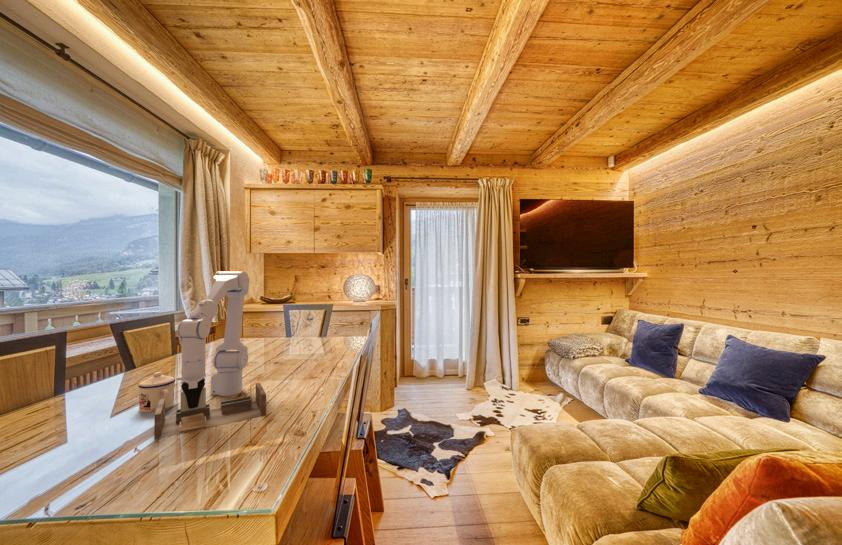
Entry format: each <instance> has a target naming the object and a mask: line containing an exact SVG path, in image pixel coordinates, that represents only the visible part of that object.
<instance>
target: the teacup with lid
mask: <svg viewBox="0 0 842 545" xmlns="http://www.w3.org/2000/svg"><path fill="white" fill-rule="evenodd" d="M175 381H176V379H175V377H174V376H167V375H165V374H162V372H161V371H156V372H154V373H153V374H152V376H150V377H148V378H146V379H144V380H142V381H140V382H139V384H138V388H139V389H138V390H139V391H138V394H139V395H138V397H139V400H138V401H139V402H138V406H139V407H138V408H139V409H138V410H139V412H141V413H150V412H151V413H152V412H156V409H157V406H158V403H159V400H160V399H163V398H165V410H166V409H168V408H171V407H172V406H174V405H175Z"/></svg>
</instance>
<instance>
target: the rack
mask: <svg viewBox="0 0 842 545" xmlns="http://www.w3.org/2000/svg"><path fill="white" fill-rule="evenodd" d="M210 406H211V405H210V403H206V407H205V408H200V409H195V410H189V411H184V412H181V408H178V409H176V413H175V416H170V417H166V409H165V398H163V399H160V400H159V403H158V406H157V409H156V411H154V412H155V413H154V428H153V430H154V440H160V439H164V438H168V437H172V436H176V435H181V434H186V433H191V432H195V431H199V430H201V431H202V430H205V429H209V428H214V427H219V426H222V425H228V424H232V423H237V422H242V421H246V420H252V419H254V418H255V419H256V418H260V417H265V416H267V392H265V390H264V388H263V386H262V384H261V383H260V382H257V383H255V401H252V399H251V395H250V396H243V397H238V398H232V399H227V400H222V401H220V407H219V408H217V407H216V408H211V407H210ZM200 413H203V414H204V416H205V417H206V426H204V427H199V428H195V429H190V430H185V431H181V432H179V424H180V422H181V418H183V417H187V416H192V415H196V414H200Z"/></svg>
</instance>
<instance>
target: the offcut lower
mask: <svg viewBox="0 0 842 545" xmlns="http://www.w3.org/2000/svg"><path fill="white" fill-rule="evenodd" d="M204 426H206V417H205V421H203V422H199V423H195V424H191V425H187V426H183V427H182V424H181V422H180V424H179V432H181V431H185V430H190V429H195V428H199V427H204Z"/></svg>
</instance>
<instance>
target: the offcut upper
mask: <svg viewBox="0 0 842 545" xmlns="http://www.w3.org/2000/svg"><path fill="white" fill-rule="evenodd" d="M203 421H205V416H204V414H203V413H200V414H196V415H192V416H187V417H183V418H181V424H182V427H183V426H187V425H191V424H195V423H199V422H203Z"/></svg>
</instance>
